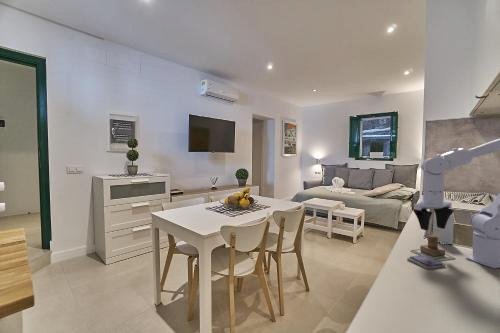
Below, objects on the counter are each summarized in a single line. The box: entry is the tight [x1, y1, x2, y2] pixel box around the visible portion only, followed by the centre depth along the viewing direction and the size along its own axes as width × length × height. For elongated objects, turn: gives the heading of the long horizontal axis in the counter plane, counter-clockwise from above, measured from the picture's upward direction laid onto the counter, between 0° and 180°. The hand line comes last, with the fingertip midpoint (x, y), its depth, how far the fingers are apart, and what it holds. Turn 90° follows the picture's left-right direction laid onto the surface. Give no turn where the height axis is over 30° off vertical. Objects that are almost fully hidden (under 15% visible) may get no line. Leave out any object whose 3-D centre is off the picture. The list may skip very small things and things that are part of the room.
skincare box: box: [432, 211, 454, 245], centre depth 95 cm, size 6×4×12 cm
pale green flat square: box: [410, 248, 456, 262], centre depth 82 cm, size 9×9×1 cm
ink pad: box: [406, 255, 446, 270], centre depth 75 cm, size 7×7×1 cm
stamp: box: [419, 234, 446, 257], centre depth 82 cm, size 5×5×6 cm
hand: (432, 228), depth 82 cm, fingers open, 7 cm apart
